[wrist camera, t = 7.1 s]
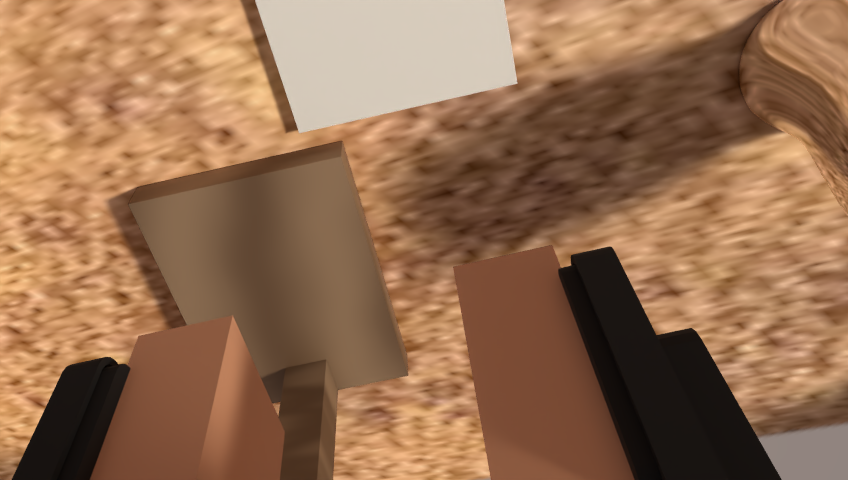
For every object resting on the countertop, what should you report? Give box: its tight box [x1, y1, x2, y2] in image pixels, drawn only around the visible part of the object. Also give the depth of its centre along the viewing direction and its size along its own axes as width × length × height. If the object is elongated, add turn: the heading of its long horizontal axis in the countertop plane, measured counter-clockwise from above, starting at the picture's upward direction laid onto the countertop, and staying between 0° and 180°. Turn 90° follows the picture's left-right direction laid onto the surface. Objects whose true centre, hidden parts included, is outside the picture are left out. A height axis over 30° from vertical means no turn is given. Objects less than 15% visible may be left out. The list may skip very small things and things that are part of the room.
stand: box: [128, 141, 408, 480], centre depth 27 cm, size 9×12×22 cm
